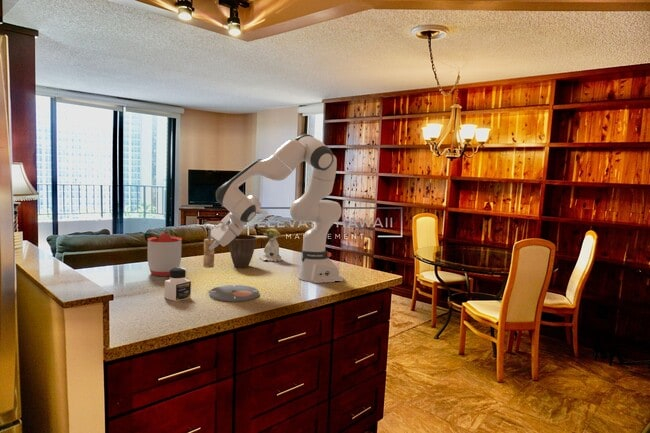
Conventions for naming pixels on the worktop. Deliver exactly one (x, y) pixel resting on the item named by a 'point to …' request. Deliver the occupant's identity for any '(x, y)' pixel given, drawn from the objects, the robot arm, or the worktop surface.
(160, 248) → the citrus juicer
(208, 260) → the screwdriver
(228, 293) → the dial plate
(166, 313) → the worktop surface
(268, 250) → the green headed figurine
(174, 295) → the medicine bottle
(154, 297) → the worktop surface
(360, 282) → the worktop surface
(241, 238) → the plant pot
